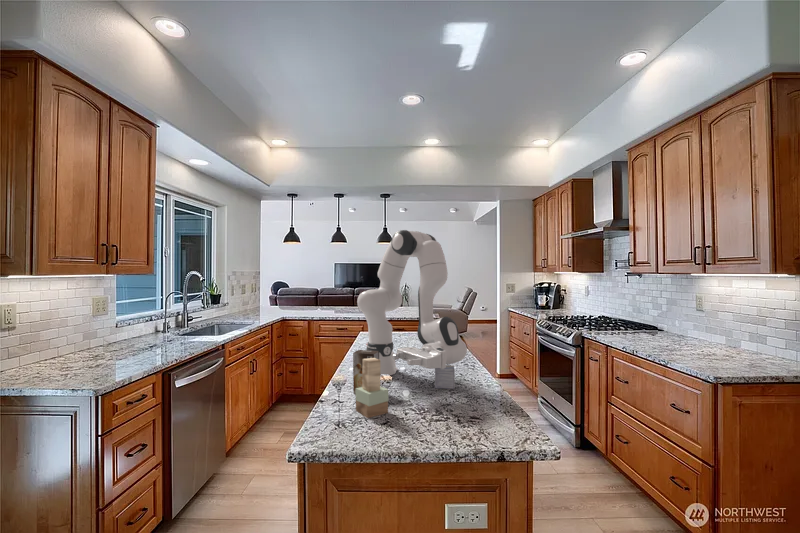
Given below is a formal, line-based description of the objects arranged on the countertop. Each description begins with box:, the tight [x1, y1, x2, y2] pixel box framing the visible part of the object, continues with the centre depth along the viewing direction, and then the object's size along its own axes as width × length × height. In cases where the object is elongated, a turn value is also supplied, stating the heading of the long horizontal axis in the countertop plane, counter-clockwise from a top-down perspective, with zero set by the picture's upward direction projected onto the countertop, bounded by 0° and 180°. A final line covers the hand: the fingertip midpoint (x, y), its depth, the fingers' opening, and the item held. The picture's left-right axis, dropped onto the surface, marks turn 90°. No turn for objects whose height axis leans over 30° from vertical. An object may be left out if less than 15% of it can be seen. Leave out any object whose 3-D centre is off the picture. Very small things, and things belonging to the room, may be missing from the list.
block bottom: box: [355, 400, 389, 419], centre depth 136 cm, size 8×8×4 cm
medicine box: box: [434, 364, 456, 390], centre depth 164 cm, size 8×4×9 cm, turn 82°
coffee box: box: [352, 349, 379, 395], centre depth 157 cm, size 9×6×16 cm
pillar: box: [362, 358, 381, 392], centre depth 136 cm, size 4×4×10 cm
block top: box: [355, 385, 389, 406], centre depth 136 cm, size 8×8×4 cm
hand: (400, 359), depth 143 cm, fingers open, 8 cm apart
